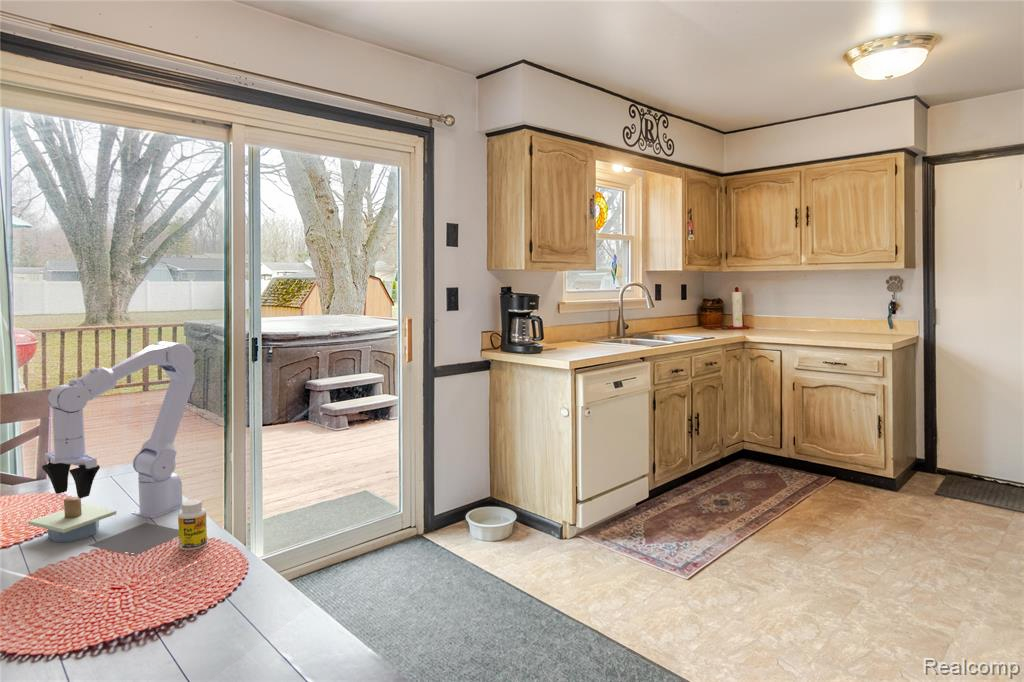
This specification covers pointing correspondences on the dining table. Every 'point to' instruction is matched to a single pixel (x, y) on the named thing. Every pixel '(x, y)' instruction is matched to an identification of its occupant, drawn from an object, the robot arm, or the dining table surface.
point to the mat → (138, 539)
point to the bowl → (74, 533)
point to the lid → (72, 516)
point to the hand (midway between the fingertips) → (72, 494)
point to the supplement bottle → (192, 525)
